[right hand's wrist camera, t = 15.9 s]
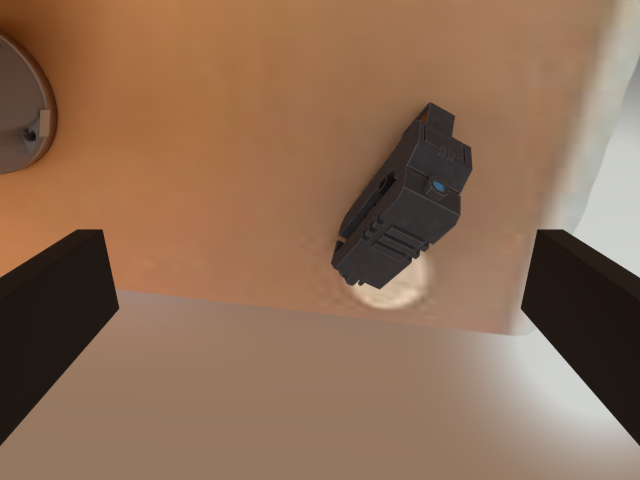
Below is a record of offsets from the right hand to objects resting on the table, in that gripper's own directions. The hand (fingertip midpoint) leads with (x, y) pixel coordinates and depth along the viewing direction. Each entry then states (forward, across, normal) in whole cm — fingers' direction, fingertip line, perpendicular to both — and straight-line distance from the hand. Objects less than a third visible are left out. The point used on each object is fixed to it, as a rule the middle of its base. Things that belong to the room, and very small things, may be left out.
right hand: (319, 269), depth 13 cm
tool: (+34, -7, +7) cm, 36 cm away
